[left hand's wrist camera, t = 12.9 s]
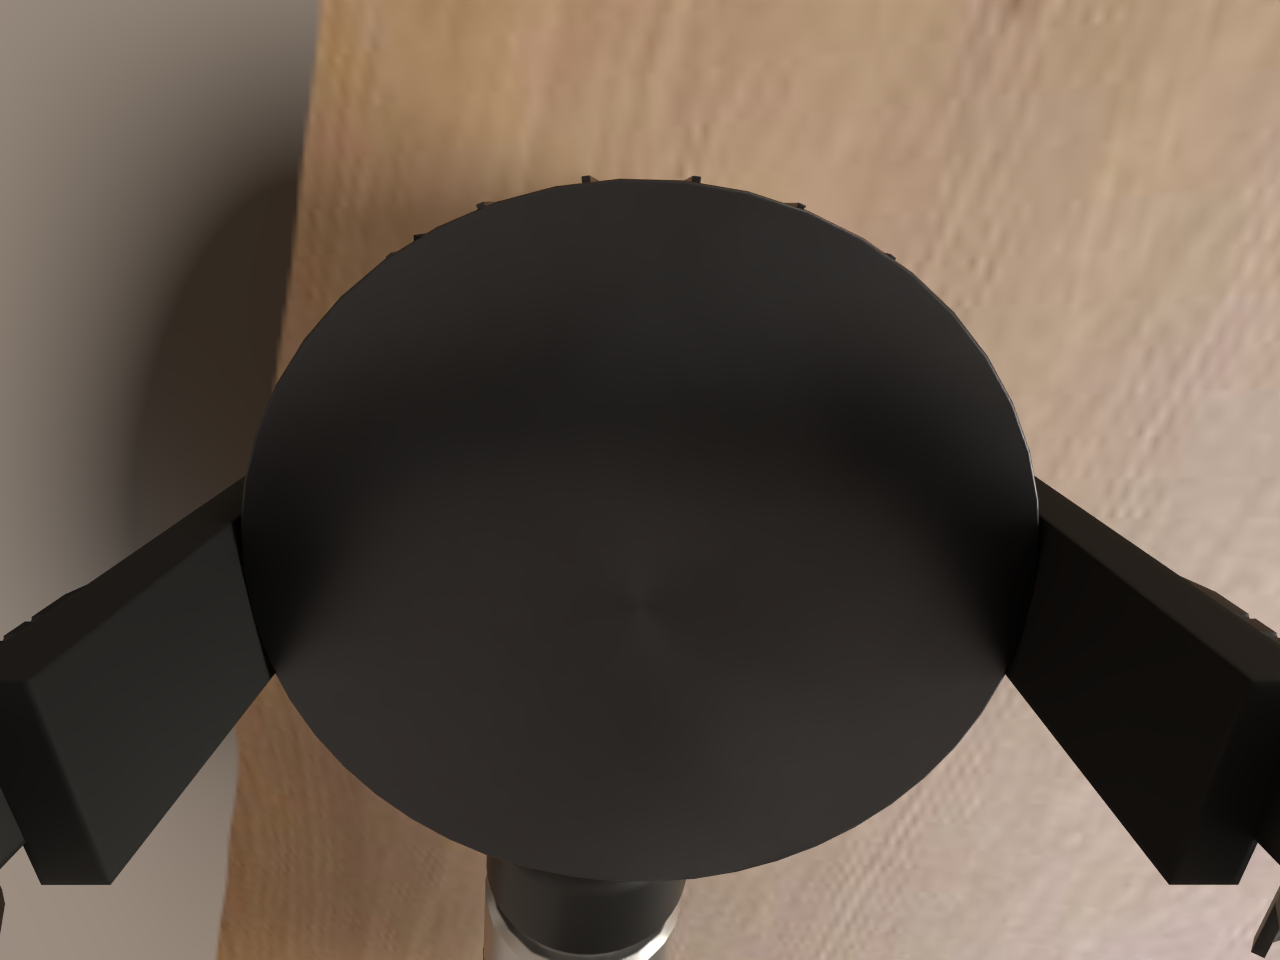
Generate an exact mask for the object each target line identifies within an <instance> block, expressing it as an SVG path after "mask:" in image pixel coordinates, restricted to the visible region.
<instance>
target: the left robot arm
mask: <svg viewBox="0 0 1280 960" xmlns="http://www.w3.org/2000/svg"><path fill="white" fill-rule="evenodd" d="M245 477H246V476H244V477H243V478H242V479H240V480H239V481H237V482H236V483H234V484H233V485H231V486H230V487H228V488H227V489H226V490H224V491H223V492H221V493H220V494H218V495H217V496H215V497H214V498H213V499H211V500H210V501H208V502H207V503H205V504H204V505H202V506H201V507H199V508H198V509H196V510H195V511H194V512H192V513H191V514H189V515H188V516H186V517H185V518H183V519H182V520H181V521H179V522H178V523H176V524H175V525H173V526H172V527H170V528H169V529H167V530H166V531H165V532H163V533H162V534H160V535H159V536H157V537H156V538H154V539H153V540H151V541H150V542H149V543H147V544H146V545H144V546H143V547H141V548H140V549H138V550H137V551H135V552H134V553H133V554H131V555H130V556H128V557H127V558H125V559H124V560H122V561H121V562H119V563H118V564H117V565H115V566H114V567H112V568H111V569H109V570H108V571H106V572H105V573H104V574H102V575H101V576H99V577H98V578H96V579H95V580H93V581H92V582H90V583H89V584H87V585H85V586H83V587H81V588H78V589H76V590H74V591H72V592H69V593H67V594H65V595H63V596H62V597H60V598H59V599H58V600H56V601H55V602H53V603H52V604H50V605H49V606H47V607H46V608H44V609H43V610H41V611H40V612H38V613H37V614H35V615H34V616H32V620H31V622H24V623H22V624H21V625H19V626H18V627H16V628H15V629H13V630H12V631H10V632H9V633H7V634H6V635H4V639H3V641H0V869H1V868H2V867H3V866H4V864H5V863H6V862H7V861H8V860H9V859H10V858H11V857H12V856H13V855H14V854H15V853H16V852H17V851H18V850H19V849H20V848H21V847H22V846H24V848H25V851H26V853H27V855H28V857H29V859H30V861H31V864H32V866H33V868H34V870H35V872H36V874H37V877H38V879H39V881H40V883H41V885H110V884H111V883H112V882H113V881H114V880H115V878H116V877H117V876H118V874H119V873H120V872H121V871H122V869H123V868H124V867H125V865H126V864H127V863H128V862H129V860H130V859H131V858H132V856H133V855H134V854H135V853H136V851H137V850H138V849H139V847H140V846H141V845H142V844H143V842H144V841H145V840H146V838H147V837H148V836H149V835H150V833H151V832H152V831H153V829H154V828H155V827H156V826H157V824H158V823H159V822H160V820H161V819H162V818H163V817H164V815H165V814H166V813H167V811H168V810H169V809H170V808H171V806H172V805H173V804H174V802H175V801H176V800H177V799H178V797H179V796H180V795H181V793H182V792H183V791H184V790H185V788H186V787H187V786H188V784H189V783H190V782H191V781H192V779H193V778H194V777H195V775H196V774H197V773H198V772H199V770H200V769H201V768H202V766H203V765H204V764H205V763H206V761H207V760H208V759H209V757H210V756H211V755H212V754H213V752H214V751H215V750H216V748H217V747H218V746H219V745H220V743H221V742H222V741H223V739H224V738H225V737H226V736H227V734H228V733H229V732H230V730H231V729H232V728H233V727H234V725H235V724H236V723H237V721H238V720H239V719H240V718H241V716H242V715H243V714H244V712H245V711H246V710H247V709H248V707H249V706H250V705H251V703H252V702H253V701H254V700H255V698H256V697H257V696H258V694H259V693H260V692H261V691H262V689H263V688H264V687H265V685H266V684H267V683H268V682H269V680H270V679H271V678H272V676H273V675H274V674H275V671H274V669H273V667H272V666H271V664H270V662H269V660H268V657H267V654H266V652H265V649H264V646H263V644H262V641H261V638H260V636H259V633H258V630H257V628H256V625H255V622H254V618H253V614H252V610H251V606H250V602H249V597H248V592H247V588H246V583H245V579H244V573H243V558H242V544H241V530H240V528H241V516H242V504H243V492H244V481H245ZM1034 478H1035V484H1036V489H1037V494H1038V504H1039V543H1040V547H1039V555H1038V563H1037V571H1036V579H1035V587H1034V591H1033V595H1032V599H1031V603H1030V607H1029V611H1028V615H1027V619H1026V622H1025V626H1024V630H1023V633H1022V636H1021V639H1020V641H1019V643H1018V646H1017V648H1016V650H1015V652H1014V655H1013V657H1012V659H1011V662H1010V664H1009V666H1008V669H1007V671H1006V673H1005V674H1006V676H1007V677H1008V678H1009V680H1010V681H1011V682H1012V683H1013V685H1014V686H1015V687H1016V689H1017V690H1018V691H1019V692H1020V694H1021V695H1022V696H1023V698H1024V699H1025V700H1026V701H1027V703H1028V704H1029V705H1030V706H1031V708H1032V709H1033V710H1034V712H1035V713H1036V714H1037V715H1038V717H1039V718H1040V719H1041V721H1042V722H1043V723H1044V724H1045V726H1046V727H1047V728H1048V730H1049V731H1050V732H1051V733H1052V735H1053V736H1054V737H1055V739H1056V740H1057V741H1058V742H1059V744H1060V745H1061V746H1062V748H1063V749H1064V750H1065V751H1066V753H1067V754H1068V755H1069V757H1070V758H1071V759H1072V760H1073V762H1074V763H1075V764H1076V766H1077V767H1078V768H1079V769H1080V771H1081V772H1082V773H1083V775H1084V776H1085V777H1086V778H1087V780H1088V781H1089V782H1090V784H1091V785H1092V786H1093V787H1094V789H1095V790H1096V791H1097V793H1098V794H1099V795H1100V796H1101V798H1102V799H1103V800H1104V802H1105V803H1106V804H1107V805H1108V807H1109V808H1110V809H1111V811H1112V812H1113V813H1114V814H1115V816H1116V817H1117V818H1118V820H1119V821H1120V822H1121V823H1122V825H1123V826H1124V827H1125V829H1126V830H1127V831H1128V832H1129V834H1130V835H1131V836H1132V838H1133V839H1134V840H1135V841H1136V843H1137V844H1138V845H1139V847H1140V848H1141V849H1142V850H1143V852H1144V853H1145V854H1146V856H1147V857H1148V858H1149V859H1150V861H1151V862H1152V863H1153V865H1154V866H1155V867H1156V868H1157V870H1158V871H1159V872H1160V874H1161V875H1162V876H1163V877H1164V879H1165V880H1166V881H1167V883H1168V884H1169V885H1238V884H1239V882H1240V880H1241V878H1242V875H1243V873H1244V871H1245V869H1246V867H1247V865H1248V862H1249V860H1250V858H1251V856H1252V854H1253V852H1254V850H1255V847H1256V845H1257V843H1259V844H1260V845H1261V846H1262V847H1263V848H1264V849H1265V850H1266V851H1267V852H1268V853H1269V854H1270V855H1271V856H1272V858H1273V859H1274V860H1275V861H1276V862H1277V863H1278V864H1279V865H1280V638H1278V637H1277V633H1276V632H1275V631H1273V630H1272V629H1270V628H1269V627H1267V626H1266V625H1264V624H1263V623H1261V622H1260V621H1258V620H1257V619H1250V618H1249V614H1248V613H1246V612H1245V611H1243V610H1242V609H1240V608H1239V607H1237V606H1236V605H1234V604H1233V603H1231V602H1230V601H1228V600H1227V599H1225V598H1224V597H1223V596H1221V595H1220V594H1218V593H1217V592H1215V591H1212V590H1210V589H1208V588H1206V587H1203V586H1201V585H1199V584H1197V583H1194V582H1192V581H1190V580H1188V579H1185V578H1183V577H1181V576H1179V575H1178V574H1176V573H1175V572H1173V571H1172V570H1170V569H1169V568H1167V567H1166V566H1165V565H1163V564H1162V563H1160V562H1159V561H1157V560H1156V559H1154V558H1153V557H1151V556H1150V555H1149V554H1147V553H1146V552H1144V551H1143V550H1141V549H1140V548H1138V547H1137V546H1135V545H1134V544H1133V543H1131V542H1130V541H1128V540H1127V539H1125V538H1124V537H1122V536H1121V535H1119V534H1118V533H1117V532H1115V531H1114V530H1112V529H1111V528H1109V527H1108V526H1106V525H1105V524H1103V523H1102V522H1101V521H1099V520H1098V519H1096V518H1095V517H1093V516H1092V515H1090V514H1089V513H1088V512H1086V511H1085V510H1083V509H1082V508H1080V507H1079V506H1077V505H1076V504H1074V503H1073V502H1072V501H1070V500H1069V499H1067V498H1066V497H1064V496H1063V495H1061V494H1060V493H1058V492H1057V491H1056V490H1054V489H1053V488H1051V487H1050V486H1048V485H1047V484H1045V483H1044V482H1042V481H1041V480H1040V479H1038V478H1037V477H1035V476H1034ZM4 906H5V902H4V897H3V893H2V889H1V887H0V931H1V925H2V919H3V913H4ZM1279 940H1280V887H1279V889H1278V891H1277V893H1276V895H1275V897H1274V899H1273V901H1272V903H1271V905H1270V907H1269V909H1268V911H1267V913H1266V915H1265V917H1264V919H1263V921H1262V923H1261V925H1260V927H1259V929H1258V931H1257V933H1256V935H1255V937H1254V941H1253V946H1252V950H1251V952H1252V953H1254V954H1257V955H1259V956H1261V957H1263V958H1265V956H1266V954H1267V952H1268V950H1269V948H1270V946H1271V945H1272V943H1273V942H1276V941H1279Z"/></svg>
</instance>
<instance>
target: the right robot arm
mask: <svg viewBox="0 0 1280 960" xmlns="http://www.w3.org/2000/svg"><path fill="white" fill-rule="evenodd" d="M426 234H427V233H426ZM423 235H425V234H418V235H414V241H415V240H417V239H418V238H420V237H422V236H423ZM685 880H686V879H684V880H670V881H657V882H639V881H607V880H598V879H589V878H580V877H571V876H565V875H560V874H556V873H551V872H546V871H541V870H536V869H532V868H527V867H524V866H521V865H517V864H514V863H511V862H508V861H505V860H501V859H498V858H495V857H492V856H488V855H487V875H486V880H485V918H484V948H483V960H669V958H670V954H671V949H672V945H673V940H674V935H675V931H676V926H677V922H678V917H679V912H680V908H681V898H682V892H683V888H684V885H685Z"/></svg>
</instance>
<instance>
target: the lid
mask: <svg viewBox="0 0 1280 960" xmlns="http://www.w3.org/2000/svg"><path fill="white" fill-rule="evenodd" d="M700 182H701V177H699V176H692V177H690V178H688V179H686V180H684V181H682V180H645V179H614V180H605V181H598V180H597V179H595V178H593V177H591V176H582V183H580V184H571V185H563V186H555V187H551V188H547V189H544V190H540V191H536V192H532V193H528V194H525V195H521V196H517V197H513V198H510V199H506V200H502V201H498V202H482V203H479V204H477V205H476V206H477V208H478V210H476V211H473V212H471V213H469V214H466V215H464V216H462V217H459V218H457V219H455V220H452V221H450V222H448V223H445V224H443V225H441V226H438V227H436V228H435V229H433V230H431V231H430V232H428V233H427V234H425V235H423V236H422V237H420V238H418V239H417V240H415V241H414V242H412V243H410V244H409V245H407V246H406V247H404V248H402V249H401V250H399V251H397V252H392V253H390V254H389V255H388V256H386V259H385V260H384V261H382V262H381V263H380V264H379V265H378V266H377V267H375V268H374V269H373V270H372V271H371V272H369V273H368V274H367V275H366V276H365V277H364V278H362V279H361V280H360V281H359V282H358V283H357V284H355V285H354V286H353V287H352V288H351V289H349V290H348V291H347V292H346V293H345V294H344V295H342V296H341V297H340V298H339V300H338V301H337V302H336V303H335V304H334V305H333V307H332V308H331V309H330V310H329V311H328V312H327V314H326V315H325V316H324V317H323V318H322V319H321V320H320V322H319V323H318V324H317V325H316V326H315V327H314V329H313V330H312V331H311V332H310V333H309V334H308V336H307V337H306V338H305V339H304V341H303V342H302V344H301V345H300V347H299V349H298V350H297V352H296V354H295V355H294V357H293V358H292V360H291V362H290V363H289V365H288V366H287V368H286V370H285V371H284V373H283V374H282V376H281V378H280V379H279V381H278V383H277V384H276V386H275V389H274V391H273V394H272V396H271V398H270V401H269V403H268V406H267V408H266V410H265V413H264V415H263V417H262V420H261V422H260V425H259V427H258V429H257V432H256V436H255V440H254V444H253V448H252V452H251V456H250V460H249V464H248V468H247V472H246V477H245V481H244V492H243V504H242V516H241V528H240V530H241V544H242V558H243V573H244V579H245V583H246V588H247V592H248V597H249V602H250V606H251V610H252V614H253V618H254V622H255V625H256V628H257V630H258V633H259V636H260V638H261V641H262V644H263V646H264V649H265V652H266V654H267V657H268V660H269V662H270V664H271V666H272V667H273V669H274V671H275V673H276V675H277V677H278V679H279V680H280V682H281V684H282V686H283V688H284V690H285V692H286V693H287V695H288V697H289V699H290V701H291V702H292V703H293V705H294V706H295V708H296V709H297V710H298V712H299V713H300V715H301V716H302V717H303V719H304V720H305V722H306V723H307V724H308V726H309V727H310V729H311V730H312V731H313V733H314V734H315V735H316V736H317V738H318V739H319V740H320V741H321V742H322V743H323V744H324V745H325V746H326V747H327V748H328V750H329V751H330V752H331V753H332V754H333V755H334V756H335V757H336V758H337V759H338V760H339V762H340V763H341V764H342V765H343V766H344V767H345V768H346V769H348V770H349V771H350V772H351V773H352V774H353V775H354V776H356V777H357V778H358V779H359V780H360V781H361V782H363V783H364V784H365V785H366V786H367V787H368V788H369V789H371V790H372V791H373V792H374V793H375V794H376V795H378V796H379V797H381V798H382V799H384V800H385V801H387V802H388V803H389V804H391V805H392V806H394V807H395V808H397V809H398V810H400V811H401V812H403V813H404V814H405V815H407V816H408V817H410V818H411V819H413V820H415V821H417V822H419V823H420V824H422V825H424V826H426V827H428V828H430V829H431V830H433V831H435V832H437V833H439V834H441V835H442V836H444V837H446V838H448V839H450V840H452V841H455V842H457V843H460V844H462V845H464V846H467V847H469V848H472V849H474V850H476V851H479V852H481V853H483V854H486V855H488V856H492V857H495V858H498V859H501V860H505V861H508V862H511V863H514V864H517V865H521V866H524V867H527V868H532V869H536V870H541V871H546V872H551V873H556V874H560V875H565V876H571V877H580V878H589V879H598V880H607V881H639V882H657V881H670V880H684V879H696V878H702V877H708V876H714V875H720V874H726V873H731V872H737V871H741V870H745V869H748V868H752V867H756V866H759V865H763V864H767V863H771V862H774V861H778V860H781V859H783V858H786V857H789V856H791V855H794V854H797V853H799V852H802V851H805V850H807V849H810V848H813V847H815V846H818V845H820V844H822V843H824V842H826V841H828V840H830V839H832V838H834V837H836V836H838V835H840V834H842V833H844V832H846V831H848V830H850V829H852V828H854V827H856V826H857V825H859V824H861V823H862V822H864V821H865V820H867V819H869V818H870V817H872V816H873V815H875V814H877V813H878V812H880V811H881V810H883V809H884V808H886V807H888V806H889V805H891V804H892V803H893V802H895V801H896V800H897V799H898V798H900V797H901V796H902V795H903V794H905V793H906V792H907V791H908V790H910V789H911V788H912V787H914V786H915V785H916V784H917V783H919V782H920V781H921V780H922V779H924V778H925V777H926V776H927V775H928V774H929V773H930V772H931V771H932V770H933V769H934V768H935V767H936V766H937V765H938V764H939V763H940V762H941V761H942V760H943V759H944V758H945V757H946V756H947V755H948V754H949V753H950V752H951V751H952V750H953V749H954V748H955V747H956V745H957V744H958V743H959V742H960V740H961V739H962V738H963V737H964V735H965V734H966V733H967V732H968V730H969V729H970V728H971V726H972V725H973V724H974V723H975V721H976V720H977V719H978V718H979V716H980V715H981V714H982V712H983V711H984V709H985V707H986V706H987V704H988V702H989V701H990V699H991V697H992V696H993V694H994V692H995V691H996V689H997V687H998V686H999V684H1000V682H1001V681H1002V679H1003V677H1004V675H1005V673H1006V671H1007V669H1008V666H1009V664H1010V662H1011V659H1012V657H1013V655H1014V652H1015V650H1016V648H1017V646H1018V643H1019V641H1020V639H1021V636H1022V633H1023V630H1024V626H1025V622H1026V619H1027V615H1028V611H1029V607H1030V603H1031V599H1032V595H1033V591H1034V587H1035V579H1036V571H1037V563H1038V555H1039V547H1040V543H1039V504H1038V494H1037V489H1036V484H1035V478H1034V473H1033V467H1032V462H1031V456H1030V451H1029V448H1028V445H1027V442H1026V439H1025V436H1024V434H1023V431H1022V428H1021V425H1020V422H1019V419H1018V416H1017V414H1016V411H1015V408H1014V405H1013V402H1012V400H1011V399H1010V397H1009V395H1008V393H1007V391H1006V389H1005V388H1004V386H1003V384H1002V382H1001V380H1000V378H999V376H998V375H997V373H996V371H995V369H994V367H993V365H992V364H991V362H990V360H989V358H988V356H987V355H986V353H985V352H984V351H983V350H982V348H981V347H980V346H979V344H978V343H977V342H976V340H975V339H974V338H973V337H972V335H971V334H970V333H969V331H968V330H967V329H966V327H965V326H964V325H963V323H962V322H961V321H960V320H959V318H958V317H957V316H956V314H955V313H954V312H953V311H952V310H951V309H950V308H949V307H948V306H947V305H946V304H945V303H944V302H943V301H942V300H941V299H940V298H938V297H937V296H936V295H935V294H934V293H933V292H932V291H931V290H930V289H929V288H928V287H927V286H926V285H925V284H924V283H923V282H922V281H921V280H920V279H919V278H918V277H916V276H915V275H914V274H913V273H912V272H911V271H909V270H908V269H906V268H905V267H904V266H902V265H901V264H899V263H898V262H896V261H895V260H896V258H895V257H894V256H893V255H891V254H888V253H884V252H882V251H881V250H879V249H878V248H876V247H875V246H874V245H872V244H871V243H869V242H868V241H866V240H865V239H864V238H862V237H860V236H858V235H856V234H854V233H852V232H849V231H847V230H845V229H843V228H841V227H839V226H837V225H835V224H833V223H831V222H829V221H827V220H825V219H823V218H821V217H819V216H817V215H815V214H813V213H811V212H809V211H807V210H805V208H806V205H803V204H801V203H782V202H779V201H776V200H773V199H770V198H767V197H764V196H760V195H757V194H754V193H751V192H748V191H742V190H737V189H731V188H725V187H719V186H713V185H707V184H702V183H700Z"/></svg>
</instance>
